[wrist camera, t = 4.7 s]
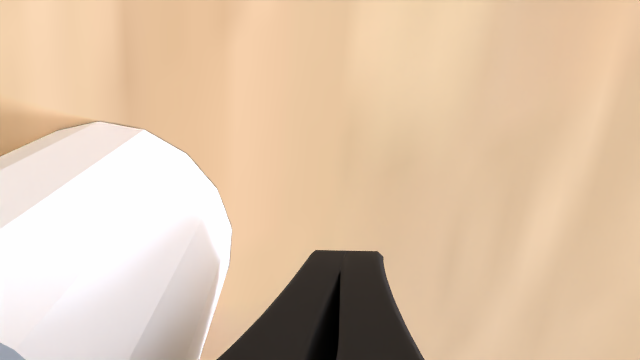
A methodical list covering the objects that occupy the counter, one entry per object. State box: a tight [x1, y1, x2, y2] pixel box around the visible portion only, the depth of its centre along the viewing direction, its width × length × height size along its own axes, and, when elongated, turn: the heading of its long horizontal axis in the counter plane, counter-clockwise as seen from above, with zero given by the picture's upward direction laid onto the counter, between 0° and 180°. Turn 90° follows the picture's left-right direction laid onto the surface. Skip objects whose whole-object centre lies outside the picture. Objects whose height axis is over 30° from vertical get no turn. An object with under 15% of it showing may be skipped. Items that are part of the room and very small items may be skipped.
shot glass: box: [0, 121, 232, 360], centre depth 11 cm, size 7×7×7 cm
